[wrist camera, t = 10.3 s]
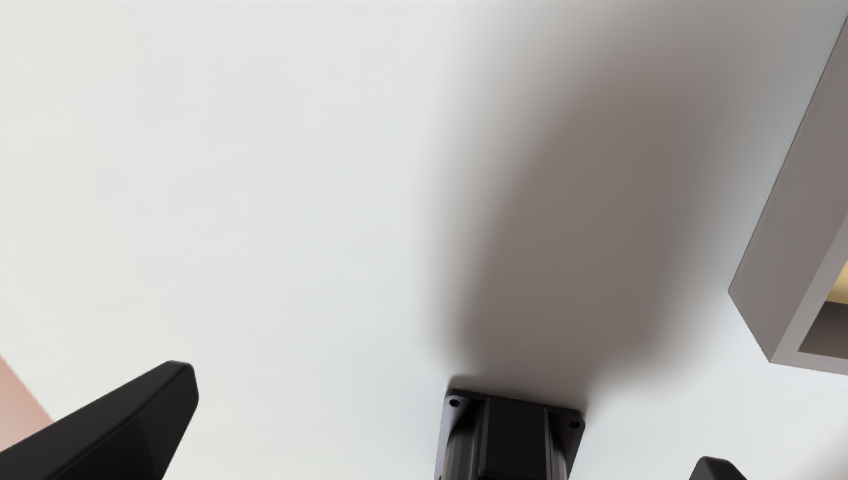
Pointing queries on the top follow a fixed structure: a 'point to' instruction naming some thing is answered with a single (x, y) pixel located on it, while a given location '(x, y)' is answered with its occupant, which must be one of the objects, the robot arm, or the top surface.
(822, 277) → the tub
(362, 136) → the top surface
